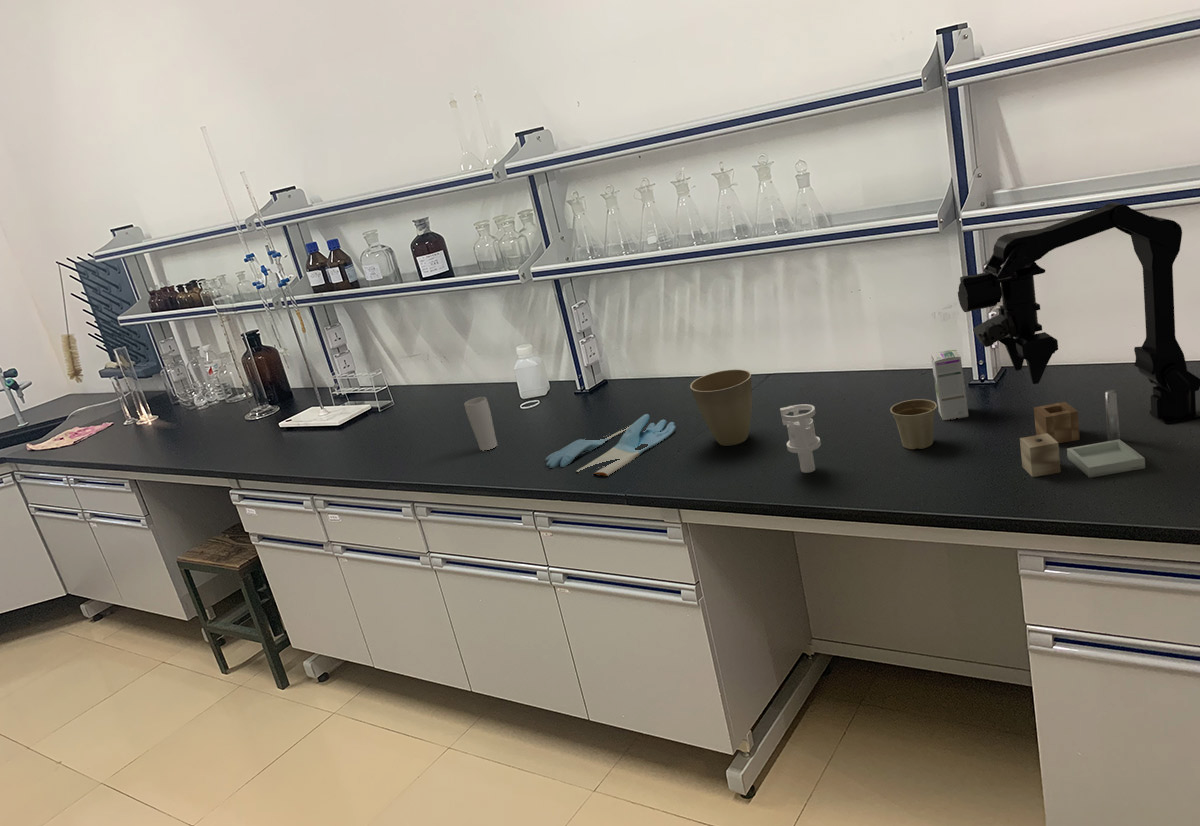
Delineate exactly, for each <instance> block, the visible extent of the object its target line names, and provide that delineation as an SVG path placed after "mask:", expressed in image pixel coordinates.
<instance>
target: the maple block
mask: <svg viewBox="0 0 1200 826" xmlns="http://www.w3.org/2000/svg"><path fill="white" fill-rule="evenodd" d="M1019 445H1020V455H1021V467H1022V468H1023V469H1024V470H1025V472H1027V473H1028V474H1029V475H1030V476H1031V477H1032V478H1034V477H1035V478H1036V477H1041V476H1047V475H1052V474H1058V473H1059V474H1060V473H1061V472H1062V471H1061V460H1060V448H1059V447H1060V445H1059V443H1058V442H1057V441H1056V440H1055V439H1053V438H1052V437H1051V436H1050V435H1049V434H1048V433H1046V434H1041V435H1036V434H1035V435H1030V436H1026V437H1020V438H1019Z"/></svg>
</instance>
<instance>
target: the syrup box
mask: <svg viewBox="0 0 1200 826" xmlns="http://www.w3.org/2000/svg"><path fill="white" fill-rule="evenodd" d="M930 358H931V363H932V364H931V366H932V373H933V380H934V388H935V394H936V402H937V403H936V404H937V409H938V410H937V411H938V414H939V415H940V417H941V419H942V420H943V421H949V420H950V419H951V420H956V418H958V419H964V418H968V417H969V409H968V400H967V392H966V385H965V377H964V371H963V365H962V357H961V356H960V354H959V352H958V351H957V349H951V350H944V351H938V352H935V353H931V354H930Z"/></svg>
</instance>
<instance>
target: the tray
mask: <svg viewBox="0 0 1200 826" xmlns="http://www.w3.org/2000/svg"><path fill="white" fill-rule="evenodd" d="M1066 453H1067V454H1066V455H1067V456H1066V457H1067V459H1068V460H1069V461H1070V462H1071V463H1073V464H1074V465H1075V467H1077V468H1078V469H1079V470H1080V471H1082V473H1083V474H1085V475H1086V476H1087V477H1088V478H1096V477H1101V476H1102V477H1103V476H1107V475H1113V474H1119V473H1124V472H1125V473H1126V472H1130V471H1131V472H1132V471H1136V470H1142V469H1146V459H1145V458H1146V457H1144V456H1143V455H1141V454H1140V453H1139V452H1138V451H1136V450H1135V449H1133V448H1132V447H1131V446H1130V445H1128V444H1127V443H1125V442H1124V441H1122V439H1118V440H1113V441H1108V440H1107V441H1102V442H1096V443H1091V444H1085V445H1080V446H1073V447H1069V448H1066Z"/></svg>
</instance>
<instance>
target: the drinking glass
mask: <svg viewBox="0 0 1200 826" xmlns="http://www.w3.org/2000/svg"><path fill="white" fill-rule="evenodd" d="M463 406H464V408H465V409H464V410H465V412H466V415H467V419H468V422H469V424H470V426H471V429H472V431H473V434H474V436H475V440H476V441H477V444H478V447H479V448H478V449H479V450H480V451H481V450H482V451H481V452H485V451H484V450H490V449H493V448H495V447H496V446H497V447H498V441H497V438H496V433H495V432H496V431H495V427H494V426H495V425H494V421H493V417H492V411H491V409H490V404H489V402H488V398H487V397H486V396H478V397H474V398H471V399H468V400H467V401H465V402H464V404H463ZM497 447H496V448H497ZM496 448H495V449H496ZM493 450H494V449H493ZM490 451H491V450H490Z"/></svg>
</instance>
